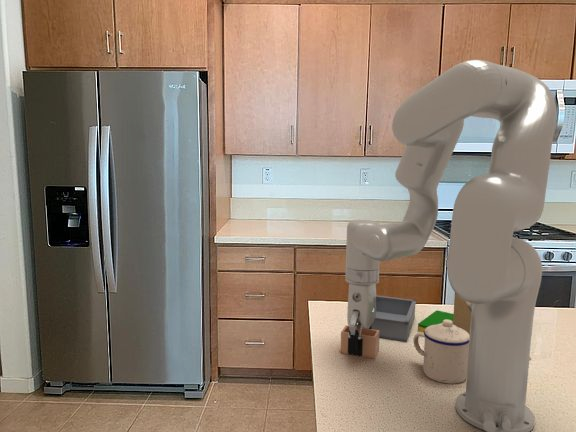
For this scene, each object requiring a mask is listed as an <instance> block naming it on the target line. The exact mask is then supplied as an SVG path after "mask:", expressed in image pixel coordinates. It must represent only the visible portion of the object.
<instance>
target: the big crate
mask: <svg viewBox="0 0 576 432" xmlns="http://www.w3.org/2000/svg"><path fill="white" fill-rule="evenodd" d="M416 304H417V300H416V299H408V298H400V297H391V296H385V295H378V294H376V317H375V319H374V321H373V323H372V328H371V329H374V330H380V331H379V339H386V340H391V341H399V342H405V343H408V340H409V337H410V333H411V330H412V327H413V325H414V321H415V317H416Z"/></svg>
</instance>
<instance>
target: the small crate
mask: <svg viewBox="0 0 576 432" xmlns="http://www.w3.org/2000/svg"><path fill="white" fill-rule="evenodd" d="M349 329H350V328H349V325H348V324H347V325H344V327H343V329H342V330H341V332H340V350H339V351H340V354H346V355H349V354H348V334H349ZM356 330H358V333H359V329H357V328H356ZM379 331H380V330H374V329H366V328H363V332H362V339H363V352H362V356H361V358H369V359H374V360H375V359H376V358H377V355H378V353H379V351H380V338H379Z"/></svg>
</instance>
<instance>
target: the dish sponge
mask: <svg viewBox="0 0 576 432" xmlns="http://www.w3.org/2000/svg"><path fill="white" fill-rule="evenodd" d="M453 315H454V313H451V312H447V311H442V310H439V309H438V310H435V311H433V312H432V313H431V314H429V315H428V316H427V317H426V318H424V319H422V320H421V321H420V322H418V323H417V332H418V333H420V332H423V333H424V331H425V329H426V328H427V327H428V326H431V325H437V324H440V323H443V320H445V319H448V320H451V321H452V322H453Z"/></svg>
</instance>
